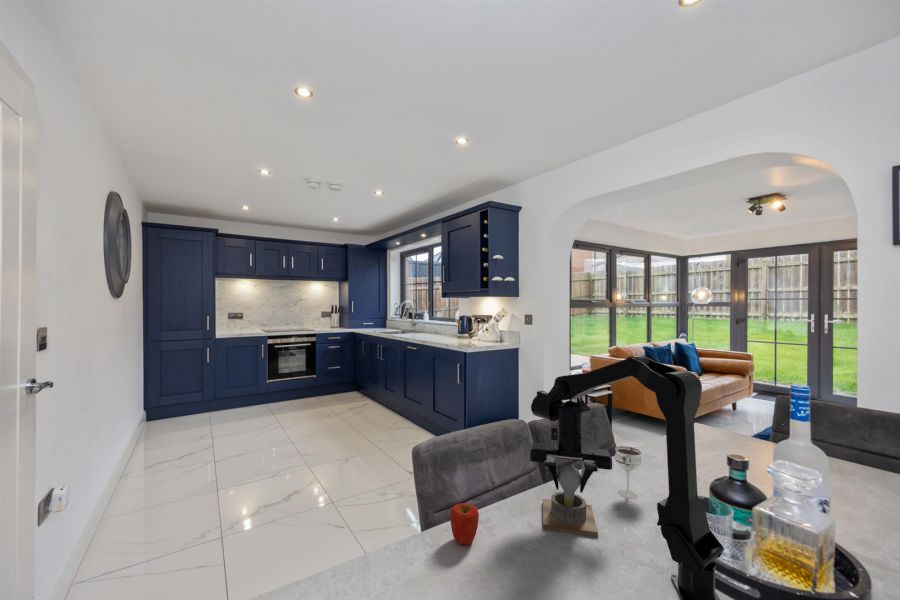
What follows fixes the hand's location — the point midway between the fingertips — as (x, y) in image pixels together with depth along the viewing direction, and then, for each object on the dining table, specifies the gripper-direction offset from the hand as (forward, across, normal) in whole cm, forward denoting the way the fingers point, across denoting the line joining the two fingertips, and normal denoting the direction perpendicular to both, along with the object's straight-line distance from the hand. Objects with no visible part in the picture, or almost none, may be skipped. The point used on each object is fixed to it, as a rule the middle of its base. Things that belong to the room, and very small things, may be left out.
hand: (569, 490), depth 93 cm
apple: (+7, +23, +15) cm, 28 cm away
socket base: (+7, 0, 0) cm, 7 cm away
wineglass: (+7, -17, -17) cm, 25 cm away
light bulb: (+4, 0, 0) cm, 4 cm away
